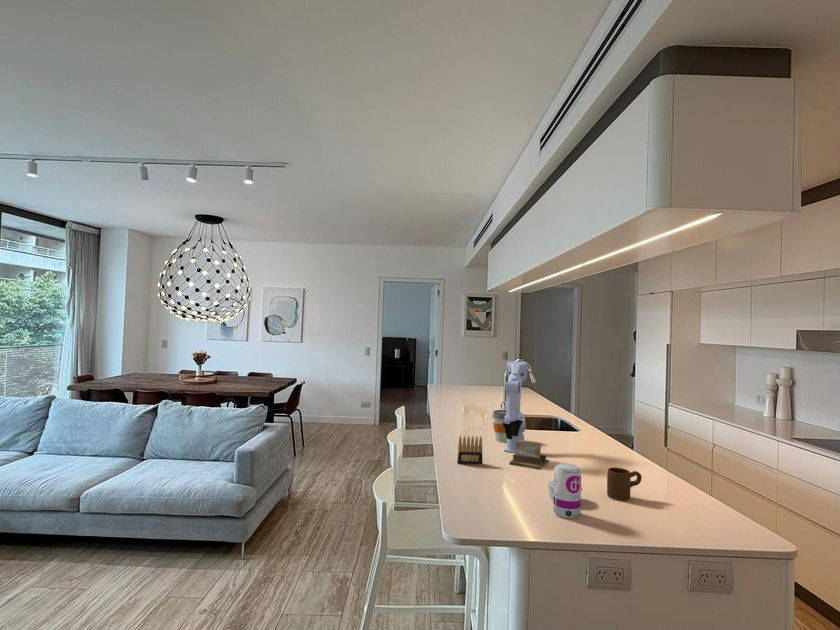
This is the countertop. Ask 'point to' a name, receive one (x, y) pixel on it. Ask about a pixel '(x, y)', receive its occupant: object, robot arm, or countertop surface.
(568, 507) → the supplement can
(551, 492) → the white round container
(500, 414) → the reusable coffee cup
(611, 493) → the mug
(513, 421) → the robot arm
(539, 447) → the beige wooden block
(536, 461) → the notched stand
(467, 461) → the ammunition clip
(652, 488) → the countertop surface
